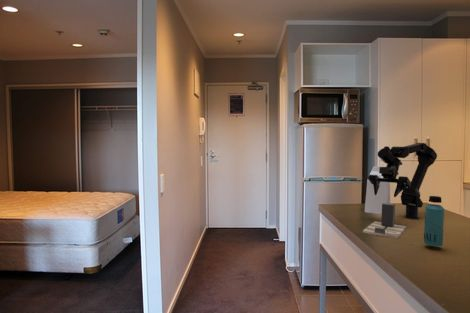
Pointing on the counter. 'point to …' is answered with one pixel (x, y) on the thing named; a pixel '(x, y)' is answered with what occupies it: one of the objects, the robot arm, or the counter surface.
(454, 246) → the counter surface
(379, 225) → the console panel
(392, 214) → the fader cap
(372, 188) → the milk
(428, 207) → the beverage bottle
